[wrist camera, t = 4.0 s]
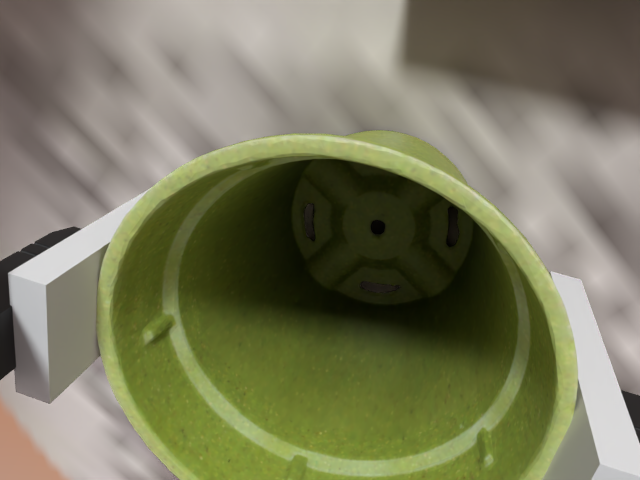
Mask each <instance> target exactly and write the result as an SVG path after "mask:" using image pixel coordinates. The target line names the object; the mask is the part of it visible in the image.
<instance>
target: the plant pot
mask: <svg viewBox="0 0 640 480" xmlns="http://www.w3.org/2000/svg"><path fill="white" fill-rule="evenodd" d="M310 203H312V204H314V219H313V226H314V232H315V239H316V240H314V241H313V240H311V239H310V238H309V237H307V235H306V231H305V224H304V208H305V207H306V206H307V204H310ZM450 206H453V207H454V208H456V209H457V210H458V223H457V225H458V228H459V232H460V233H459V237H458V240H457V243H456V244H455V245H454V246H451V247H449V246H448V245H447V244H446V239H447V233H448V227H449V225H448V220H449V219H448V217H449V216H448V212H447V210H448V208H449V207H450ZM374 220H380V221H382V222H383V223H384V224H385V231H384V232H383V233H382V234H379V235H377V234H374V233H373V232H372V231H371V224H372V222H373V221H374ZM363 281H368V282H371V283H378V284H385V285H387V284H391V285H392V286H395V285H399V286H400V288H398V289H397V290H395V291H391V292H386V293H376V292H371V291H367V290H365V289H364V288H362V287H361V286H360V285H361V282H363ZM96 334H97V339H98V345H99V349H100V354H101V358H102V362H103V365H104V368H105V373H106V376H107V379H108V381H109V384H110V386H111V388H112V391H113V393H114V395H115V397H116V399H117V401H118V403H119V404H120V406H121V408H122V409H123V411H124V413H125V415H126V416H127V418H128V420H129V421H130V423H131V425H132V426H133V428H134V429H135V430H136V432H137V433H138V434H139V435H140V437H141V438H142V440H143V441H144V443H145V444H146V445H147V447H148V448H149V449H150V450H151V451H152V452H153V453H154V454H155V455H156V456H157V457H158V458H159V460H160V461H161V462H162V463H163V464H164V465H165V466H166V467H167V468H168V469H169V470H170V471H171V472H172V473H173V474H174V475H175V476H176V477H177V478H179V480H542V479H543V477H544V475H545V473H546V471H547V469H548V467H549V465H550V463H551V461H552V459H553V457H554V456H555V454H556V452H557V450H558V448H559V446H560V444H561V442H562V440H563V438H564V436H565V434H566V432H567V430H568V428H569V426H570V424H571V422H572V419H573V415H574V410H575V404H576V399H577V389H578V364H577V354H576V348H575V342H574V337H573V332H572V329H571V325H570V322H569V318H568V315H567V311H566V308H565V306H564V303H563V301H562V298H561V296H560V294H559V292H558V290H557V288H556V286H555V284H554V282H553V280H552V278H551V275H550V274H549V272H548V271H547V269H546V267H545V266H544V264H543V263H542V261H541V259H540V258H539V256H538V255H537V253H536V252H535V251H534V249H533V248H532V246H531V245H530V243H529V242H528V241H527V239H526V238H525V237H524V236H523V234H522V233H521V232H520V231H519V230H518V229H517V228H516V227H515V226H514V225H513V223H512V222H511V221H510V220H509V219H508V218H507V217H506V216H505V215H504V214H503V213H502V212H501V211H500V210H499V209H498V208H497V207H496V206H494V205H493V204H492V203H491V202H490V201H488V200H487V199H486V198H485V197H483V196H482V195H481V194H480V193H478V192H477V191H476V190H474V189H473V188H471V187H470V186H469V185H468V184H467V182H466V180H465V179H464V177H463V176H462V174H461V173H460V172H459V170H458V169H457V168H456V167H455V165H454V164H453V163H452V162H451V161H450V160H449V159H448V158H447V157H446V156H444V155H443V154H442V153H441V152H440V151H438V150H437V149H436V148H434V147H433V146H431V145H430V144H428V143H426V142H424V141H422V140H420V139H418V138H416V137H413V136H410V135H407V134H403V133H399V132H394V131H383V130H376V131H364V132H359V133H354V134H350V135H347V136H339V135H331V134H286V135H276V136H268V137H263V138H258V139H253V140H247V141H243V142H240V143H237V144H234V145H230V146H227V147H224V148H221V149H217V150H214V151H212V152H210V153H207V154H205V155H202V156H200V157H198V158H195V159H193V160H192V161H190V162H188V163H186V164H184V165H183V166H181V167H179V168H178V169H176V170H174V171H173V172H171V173H170V174H168V175H167V176H166V177H164V178H163V179H161V180H160V181H159V182H158V183H156V184H155V185H154V186H153V187H152V188H151V189H149V190H148V191H147V192H146V193H145V194H144V195H143V196H142V198H141V199H140V200H139V201H138V202H137V203H136V204H135V205H134V206H133V208H132V209H131V210H130V211H129V212H128V213H127V214H126V215H125V217H124V218H123V220H122V222H121V223H120V225H119V227H118V228H117V230H116V232H115V234H114V235H113V237H112V240H111V242H110V244H109V246H108V248H107V251H106V253H105V256H104V259H103V262H102V267H101V271H100V276H99V280H98V286H97V308H96Z"/></svg>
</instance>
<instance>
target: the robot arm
mask: <svg viewBox="0 0 640 480" xmlns="http://www.w3.org/2000/svg"><path fill="white" fill-rule="evenodd" d="M150 189H151V188H150ZM148 190H149V189H148ZM148 190H147V191H148ZM147 191H145V192H143V193H142V194H140V195H138V196H137V197H135V198H133V199H132V200H130V201H128V202H127V203H125V204H123V205H122V206H120V207H118V208H116V209H115V210H113V211H111V212H110V213H108V214H106V215H105V216H103V217H101V218H100V219H98V220H96V221H95V222H93V223H91V224H90V225H88V226H86V227H84V228H83V229H80V228H77V227H71V228H67V229H63V230H59V231H55V232H52V233H50V234H48V235H46V236H44V237H43V238H41V239H39V240H37V241H35V244H30V245H28V246H27V247H25V248H23V249H21V252H16V253H14V254H12V255H10V256H9V257H7V258H5V259H3V260H2V261H0V380H1V379H2V378H3V377H5V376H6V375H7V374H8V373H10V372H11V371H12V370H13V369H14V371H15V385H16V392H18V393H21V394H24V395H26V396H29V397H32V398H35V399H38V400H40V401H43V402H46V403H49V404H50V403H51V402H52V401H53V400H54V399H56V398H57V397H58V396H59V395H60V394H61V393H62V392H63V391H64V390H65V389H66V388H67V387H68V386H69V385H70V384H71V383H72V382H73V381H74V380H75V379H76V378H77V377H78V376H80V375H81V374H82V373H83V372H84V371H85V370H86V369H87V368H88V367H89V366H90V365H91V364H92V363H93V362H94V361H95V360H96V359H97V358H98V357H99V356H100V355H101V354H100V349H99V345H98V339H97V334H96V308H97V286H98V280H99V276H100V271H101V267H102V262H103V259H104V256H105V253H106V251H107V248H108V246H109V244H110V242H111V240H112V237H113V235H114V234H115V232H116V230H117V228H118V227H119V225H120V223H121V222H122V220H123V218H124V217H125V215H126V214H127V213H128V212H129V211H130V210H131V209H132V208H133V206H134V205H135V204H136V203H137V202H138V201H139V200H140V199H141V198H142V196H143V195H144V194H145V193H146V192H147ZM549 274H550V275H551V278H552V280H553V282H554V284H555V286H556V288H557V290H558V292H559V294H560V296H561V298H562V301H563V303H564V306H565V308H566V311H567V315H568V318H569V322H570V325H571V329H572V332H573V337H574V342H575V348H576V354H577V364H578V389H577V399H576V404H575V410H574V415H573V419H572V422H571V424H570V426H569V428H568V430H567V432H566V434H565V436H564V438H563V440H562V442H561V444H560V446H559V448H558V450H557V452H556V454H555V456H554V457H553V459H552V461H551V463H550V465H549V467H548V469H547V471H546V473H545V475H544V477H543V479H542V480H640V396H639V395H635V394H632V393H629V392H625V391H622V390H620V387H619V385H618V382H617V379H616V376H615V373H614V371H613V368H612V365H611V362H610V359H609V357H608V354H607V351H606V348H605V345H604V343H603V340H602V337H601V334H600V331H599V329H598V326H597V323H596V320H595V318H594V315H593V312H592V309H591V306H590V304H589V301H588V298H587V295H586V292H585V290H584V287H583V284H582V281H581V279H577V278H573V277H570V276H566V275H563V274H559V273H555V272H552V271H550V273H549Z"/></svg>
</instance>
